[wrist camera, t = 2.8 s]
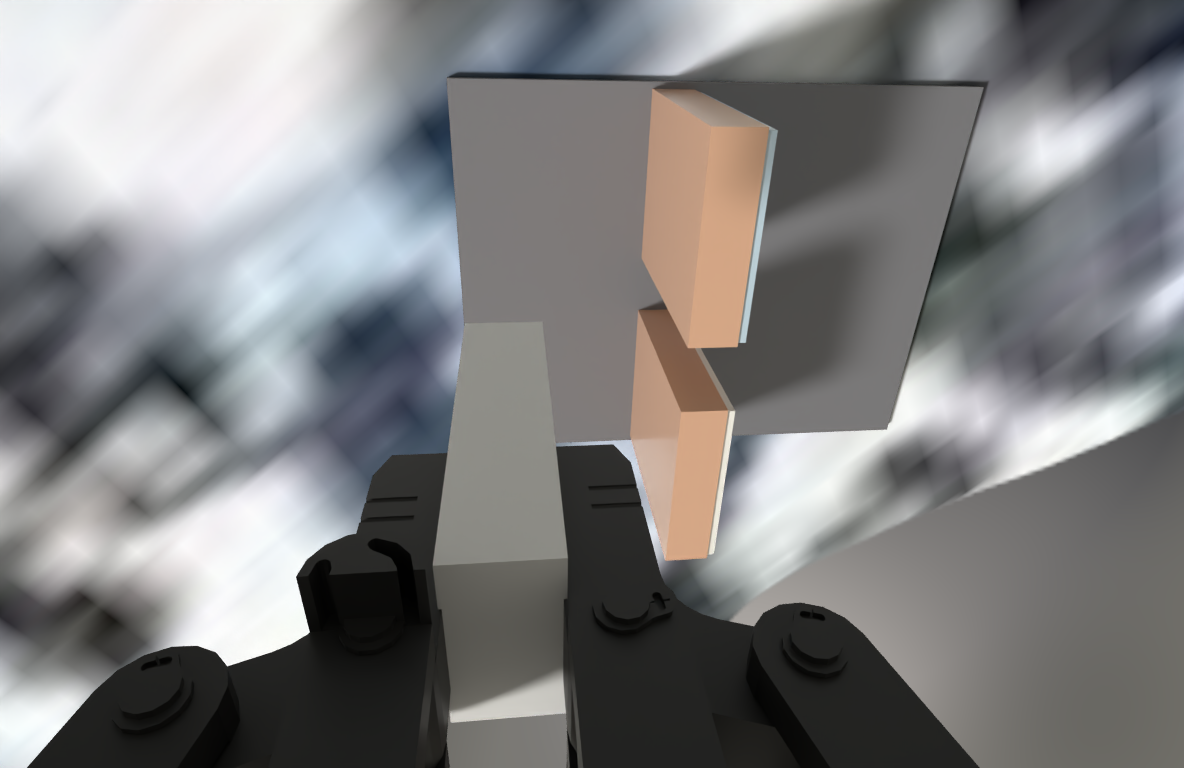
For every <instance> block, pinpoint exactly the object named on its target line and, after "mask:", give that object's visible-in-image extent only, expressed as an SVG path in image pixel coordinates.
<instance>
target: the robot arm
mask: <svg viewBox="0 0 1184 768" xmlns="http://www.w3.org/2000/svg"><path fill="white" fill-rule="evenodd" d="M296 578H297V583H298V587H299V591H300V595H301V599H302V603H303V607H304V611H305V615H306V619H307V623H308V627H309V631H310V633H309V634H308V635H306V636H304V637H303V638H301V639H299V640H298V641H296V642H294V643H293V644H291V645H288V646H286V647H284V648H281V649H279V650H276V651H274V652H271V653H268V654H265V655H262V656H259V657H256V658H252V659H249V660H246V661H243V662H240V663H237V664H234V665H231V666H228V667H227V666H226V664H225V663H224V662H223V661H222V659H221V658H220V657H219V656H218V654H217V653H216V652H213V651H210V650H207V649H204V648H202V647H199V646H181V647H170V648H167V649H163V650H160V651H157V652H154V653H150V654H147V655H144V656H142V657H140V658H139V659H137V660H135V661H133V662H132V663H130V664H128V665H126V666H124V667H123V668H121V669H119V670H117V671H116V672H115V673H114V674H113V675H112V676H111V677H109V678H108V679H107V680H106V681H105V682H104V683H103V684H102V685H100V686H99V687H98V688H97V689H96V690H95V691H94V692H93V693H92V694H91V695H90V696H89V698H88V699H87V700H86V701H85V702H84V703H83V704H82V706H81V707H80V708H79V709H78V710H77V711H76V712H75V714H74V715H73V716H72V717H71V718H70V719H69V720H68V722H67V723H66V724H65V725H64V726H63V727H62V728H61V730H60V731H59V732H58V733H57V734H56V735H55V736H54V737H53V739H52V740H51V741H50V742H49V743H48V744H47V745H46V747H45V748H44V749H43V750H42V751H41V752H40V753H39V755H38V756H37V757H36V758H35V759H34V760H33V761H32V763H31V764H30V765H29V766H28V767H27V768H449V767H450V765H449V757H448V750H447V741H446V740H447V729H448V717H449V710H450V718H451V722H463V721H475V720H487V719H501V718H513V717H525V716H538V715H550V714H563V713H566V720H567V768H979V767H978V765H977V764H976V763H975V762H974V761H973V760H972V758H971V757H970V756H969V755H968V754H967V753H966V752H965V750H964V749H963V748H962V747H961V746H960V745H959V743H958V742H957V741H956V740H955V739H954V738H953V737H952V735H951V734H950V733H949V732H948V731H947V730H946V729H945V727H943V725H942V724H941V723H940V722H939V720H937V718H936V717H935V716H934V715H933V713H932V712H931V711H930V710H929V709H928V708H927V707H926V705H925V704H924V703H923V702H922V701H921V700H920V699H919V697H918V696H917V695H916V694H915V693H914V692H913V690H912V689H911V688H910V687H909V686H908V685H907V683H906V682H905V681H904V680H903V679H902V678H901V677H900V675H899V674H898V673H897V672H896V671H895V670H894V669H893V667H892V666H891V665H890V664H889V663H888V662H887V660H886V659H885V658H884V657H883V656H882V655H881V654H880V652H879V651H878V650H877V649H876V648H875V647H874V645H873V644H872V643H871V642H870V641H869V640H868V638H866V637H865V635H864V634H863V633H862V632H861V631H860V630H858V629H857V628H856V627H855V626H854V625H853V624H851V623H850V622H849V621H848V620H847V619H846V618H844V617H842V616H840V615H838V614H836V613H834V612H832V611H830V610H828V609H826V608H824V607H820V606H815V605H810V604H805V603H793V604H782V605H778V606H777V607H774V608H772V609H770V610H768V611H767V612H765V613H763V614H762V616H761V617H760V619H759V620H758V622H757V623H756V625H755V626H749V625H744V624H739V623H734V622H729V621H725V620H720V619H716V618H713V617H709V616H706V615H703V614H701V613H699V612H697V611H695V610H693V609H691V608H689V607H687V606H686V605H684V604H683V603H682V602H681V601H679V600H678V599H677V598H676V596H675V594H674V592H673V591H672V590H671V589H670V588H668V587H667V586H666V585H665V583H664V581H663V579H662V577H661V574H660V571H659V567H658V563H657V559H656V556H655V552H654V548H653V544H652V541H651V537H650V533H649V529H648V526H647V522H646V518H645V514H644V511H643V507H642V506H641V499H640V496H639V492H638V488H637V487H636V480H635V477H634V473H633V469H632V465H631V462H630V461H629V460H628V459H627V458H626V457H625V456H624V455H623V454H622V453H621V452H620V451H619V450H618V449H617V448H616V447H615V446H614V445H588V446H563V447H556V443H555V434H554V425H553V415H552V406H551V397H550V387H549V378H548V369H547V360H546V350H545V341H544V332H543V322H505V323H465V327H464V334H463V342H462V349H461V357H460V364H459V372H458V379H457V387H456V394H455V402H454V409H453V417H452V424H451V432H450V439H449V447H448V453H439V454H414V455H392V456H391V457H390V458H389V459H388V460H387V461H386V462H385V463H384V464H383V465H382V467H381V468H380V469H379V470H378V471H377V472H376V473H375V474H374V475H373V477H372V481H371V484H370V488H369V491H368V495H367V498H366V503H365V505H364V509H363V512H362V516H361V523H359V526H358V530H357V533H356V534H352V535H347V536H345V537H343V538H341V539H338V540H336V541H334V542H331V543H329V544H327V545H325V546H324V547H322V548H321V549H320V550H319V551H317V552H316V553H315V554H314V555H312V556H311V557H310V558H308V559H307V561H306V562H305V564H304V565H303V567H302V568H301V570H300V572H299V573H298V575H297V576H296Z"/></svg>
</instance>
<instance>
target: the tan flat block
mask: <svg viewBox="0 0 1184 768" xmlns="http://www.w3.org/2000/svg"><path fill="white" fill-rule="evenodd" d="M734 417H735V410H734V408H733V406H732V404H731V402H730V400H729V399H728V397H727V395H726V393H725V391H724V390H723V388H722V386H721V384H720V382H719V381H718V379H717V377H716V375H715V373H714V371H713V370H712V368H711V366H710V364H709V362H708V361H707V359H706V357H705V355H704V353H703V352H702V350H701V348H688V347H687V346H686V344H685V342H684V340H683V338H682V336H681V334H680V332H679V330H678V328H677V326H676V324H675V322H674V320H673V318H672V316H671V314H670V313H669V311H668V309H666V310H638V321H637V337H636V352H635V368H634V383H633V399H632V415H631V430H630V437H631V441H632V444H633V448H634V451H635V455H636V458H637V462H638V465H639V469H640V472H641V476H642V479H643V483H644V486H645V490H646V494H647V497H648V501H649V504H650V508H651V511H652V515H653V518H654V522H655V525H656V529H657V532H658V536H659V540H660V543H661V547H662V550H663V554H664V557H665V561H667V560H683V559H700V558H707V554H714V549H715V542H716V535H717V529H718V522H719V516H720V509H721V502H722V496H723V489H724V483H725V476H726V469H727V463H728V456H729V450H730V443H731V436H732V430H733V423H734Z"/></svg>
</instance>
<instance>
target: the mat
mask: <svg viewBox="0 0 1184 768" xmlns="http://www.w3.org/2000/svg"><path fill="white" fill-rule="evenodd" d="M983 88H984V87H980V86H939V85H880V84H821V83H762V82H703V81H643V80H584V79H525V78H466V77H447V90H448V104H449V118H450V132H451V146H452V160H453V174H454V188H455V202H456V216H457V230H458V244H459V258H460V272H461V286H462V300H463V314H464V327H465V323H505V322H543V332H544V341H545V350H546V360H547V369H548V378H549V387H550V397H551V406H552V415H553V425H554V434H555V443H562V442H586V441H611V440H631V437H630V430H631V415H632V399H633V383H634V368H635V352H636V337H637V321H638V310H666V309H667V307H666V305H665V303H664V301H663V299H662V297H661V295H660V293H659V291H658V289H657V287H656V285H655V283H654V282H653V280H652V278H651V276H650V274H649V272H648V270H647V268H646V266H645V264H644V262H643V260H642V243H643V228H644V212H645V197H646V181H647V165H648V150H649V134H650V119H651V103H652V89H695V90H697V91H699V92H702V93H704V94H706V95H708V96H710V97H712V98H714V99H716V100H718V101H720V102H722V103H724V104H726V105H728V106H730V107H732V108H734V109H736V110H738V111H740V112H742V113H744V114H746V115H748V116H750V117H752V118H754V119H756V120H758V121H760V122H762V123H764V124H766V125H768V126H770V127H772V128H774V129H776V130H778V133H777V139H776V146H775V152H774V159H773V166H772V172H771V179H770V185H769V192H768V199H767V205H766V212H765V219H764V225H763V232H762V238H761V245H760V252H759V258H758V265H757V271H756V278H755V285H754V291H753V298H752V304H751V311H750V318H749V324H748V331H747V337H746V343H738V347H720V348H701V350H702V352H703V353H704V355H705V357H706V359H707V361H708V362H709V364H710V366H711V368H712V370H713V371H714V373H715V375H716V377H717V379H718V381H719V382H720V384H721V386H722V388H723V390H724V391H725V393H726V395H727V397H728V399H729V400H730V402H731V404H732V406H733V408H734V410H735V417H734V423H733V430H732V436H735V435H760V434H784V433H809V432H834V431H859V430H884V429H887V427H888V423H889V420H890V416H891V413H892V409H893V406H894V402H895V399H896V395H897V392H898V388H899V385H900V381H901V378H902V374H903V370H904V367H905V363H906V360H907V356H908V353H909V349H910V346H911V342H912V339H913V335H914V332H915V328H916V325H917V321H918V318H919V314H920V310H921V307H922V303H923V300H924V296H925V293H926V289H927V286H928V282H929V279H930V275H931V272H932V268H933V265H934V261H935V258H936V254H937V250H938V247H939V243H940V240H941V236H942V233H943V229H944V226H945V222H946V219H947V215H948V212H949V208H950V205H951V201H952V198H953V194H954V190H955V187H956V183H957V180H958V176H959V173H960V169H961V166H962V162H963V159H964V155H965V152H966V148H967V145H968V141H969V138H970V134H971V130H972V127H973V123H974V120H975V116H976V113H977V109H978V106H979V102H980V99H981V95H982V92H983Z"/></svg>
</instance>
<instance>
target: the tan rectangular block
mask: <svg viewBox="0 0 1184 768" xmlns="http://www.w3.org/2000/svg"><path fill="white" fill-rule="evenodd" d="M777 133H778V130H776V129H774V128H772V127H770V126H768V125H766V124H764V123H762V122H760V121H758V120H756V119H754V118H752V117H750V116H748V115H746V114H744V113H742V112H740V111H738V110H736V109H734V108H732V107H730V106H728V105H726V104H724V103H722V102H720V101H718V100H716V99H714V98H712V97H710V96H708V95H706V94H704V93H702V92H699V91H697V90H695V89H652V103H651V119H650V134H649V150H648V165H647V181H646V197H645V212H644V228H643V243H642V260H643V262H644V264H645V266H646V268H647V270H648V272H649V274H650V276H651V278H652V280H653V282H654V283H655V285H656V287H657V289H658V291H659V293H660V295H661V297H662V299H663V301H664V303H665V305H666V307H667V309H668V311H669V313H670V314H671V316H672V318H673V320H674V322H675V324H676V326H677V328H678V330H679V332H680V334H681V336H682V338H683V340H684V342H685V344H686V346H687V347H688V348H720V347H738V343H746V337H747V331H748V324H749V318H750V311H751V304H752V298H753V291H754V285H755V278H756V271H757V265H758V258H759V252H760V245H761V238H762V232H763V225H764V219H765V212H766V205H767V199H768V192H769V185H770V179H771V172H772V166H773V159H774V152H775V146H776V139H777Z"/></svg>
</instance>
